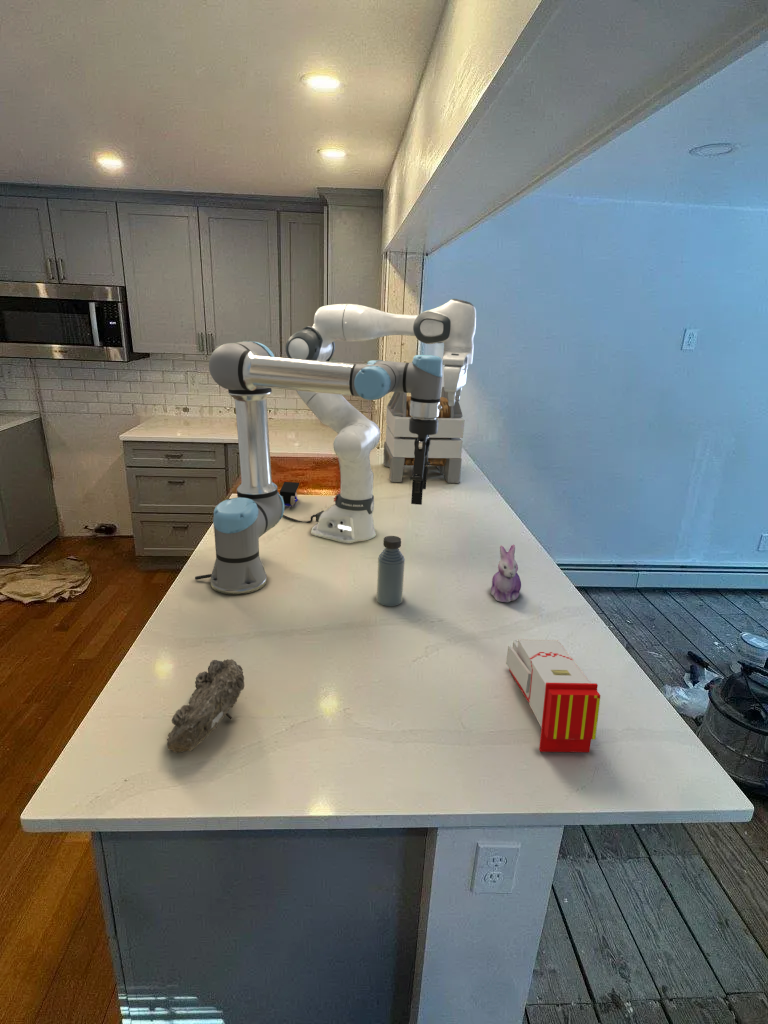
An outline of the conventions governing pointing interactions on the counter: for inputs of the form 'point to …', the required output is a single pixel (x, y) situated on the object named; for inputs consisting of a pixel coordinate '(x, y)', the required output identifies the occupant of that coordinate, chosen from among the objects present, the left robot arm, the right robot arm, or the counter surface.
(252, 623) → the counter surface
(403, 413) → the transformer
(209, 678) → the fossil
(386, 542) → the cap
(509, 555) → the figurine
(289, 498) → the figurine character
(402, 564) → the bottle
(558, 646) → the toy
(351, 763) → the counter surface
